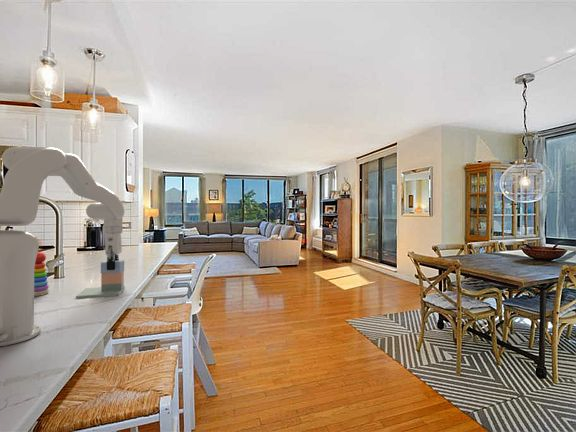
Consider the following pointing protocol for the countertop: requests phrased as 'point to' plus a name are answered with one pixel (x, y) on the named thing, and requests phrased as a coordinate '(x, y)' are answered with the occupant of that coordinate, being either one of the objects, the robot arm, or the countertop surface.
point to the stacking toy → (40, 276)
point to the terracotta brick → (112, 278)
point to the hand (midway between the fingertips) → (112, 268)
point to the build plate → (102, 291)
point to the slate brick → (118, 267)
